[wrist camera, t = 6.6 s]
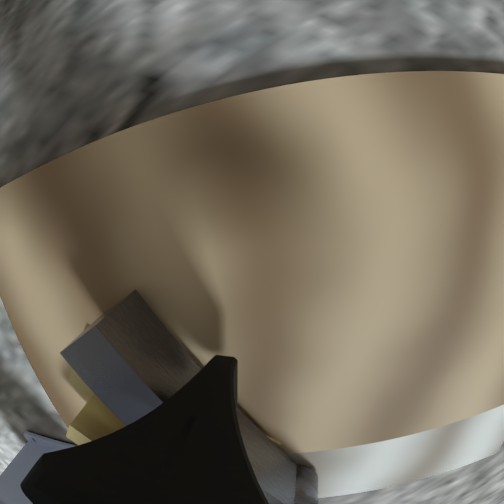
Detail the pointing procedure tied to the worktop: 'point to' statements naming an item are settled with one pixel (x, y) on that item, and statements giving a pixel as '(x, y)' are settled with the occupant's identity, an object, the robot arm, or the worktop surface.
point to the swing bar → (169, 388)
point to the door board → (291, 264)
